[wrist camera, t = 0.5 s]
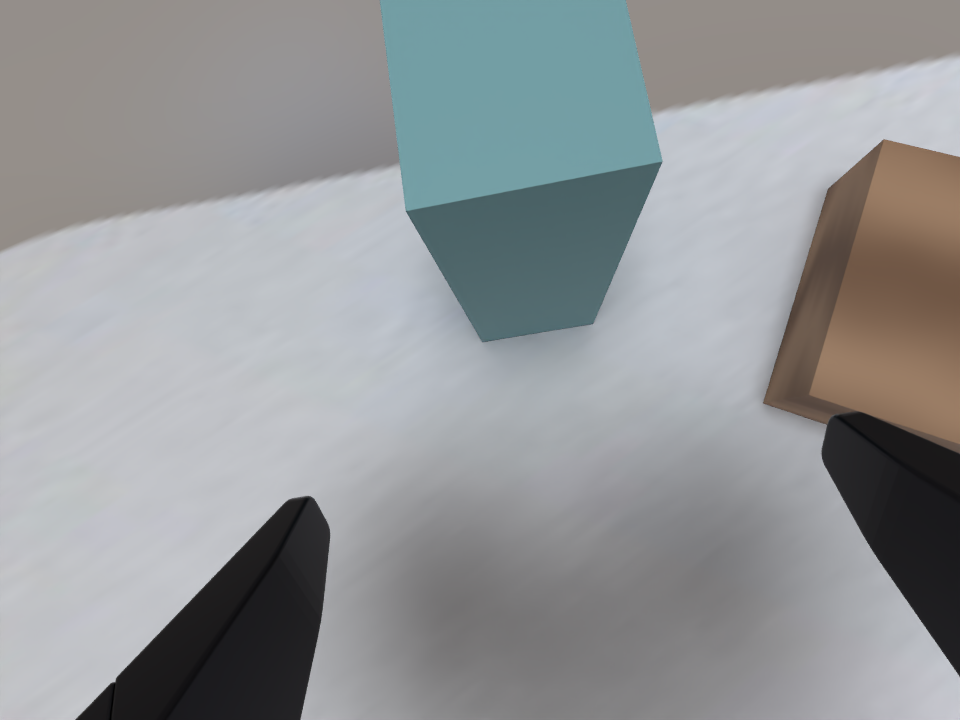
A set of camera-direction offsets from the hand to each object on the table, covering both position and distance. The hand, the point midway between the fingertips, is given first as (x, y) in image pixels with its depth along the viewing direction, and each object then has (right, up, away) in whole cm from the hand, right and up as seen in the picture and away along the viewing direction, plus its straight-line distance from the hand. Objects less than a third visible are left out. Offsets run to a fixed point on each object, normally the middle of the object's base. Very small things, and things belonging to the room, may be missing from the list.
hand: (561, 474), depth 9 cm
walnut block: (+17, +3, +12) cm, 21 cm away
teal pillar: (+1, +6, +14) cm, 15 cm away
